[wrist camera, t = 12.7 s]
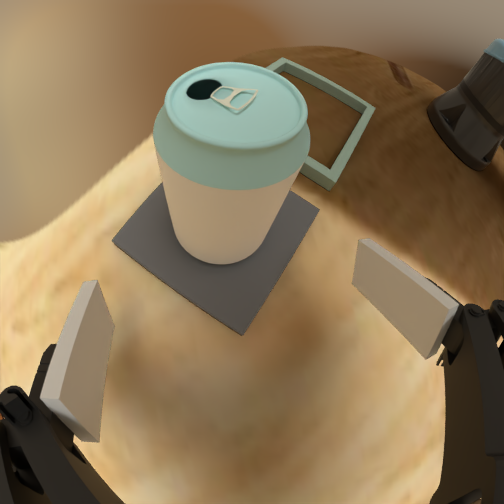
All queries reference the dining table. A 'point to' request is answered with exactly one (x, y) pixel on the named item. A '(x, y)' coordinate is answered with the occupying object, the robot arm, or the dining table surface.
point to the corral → (310, 165)
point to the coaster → (215, 275)
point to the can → (229, 156)
